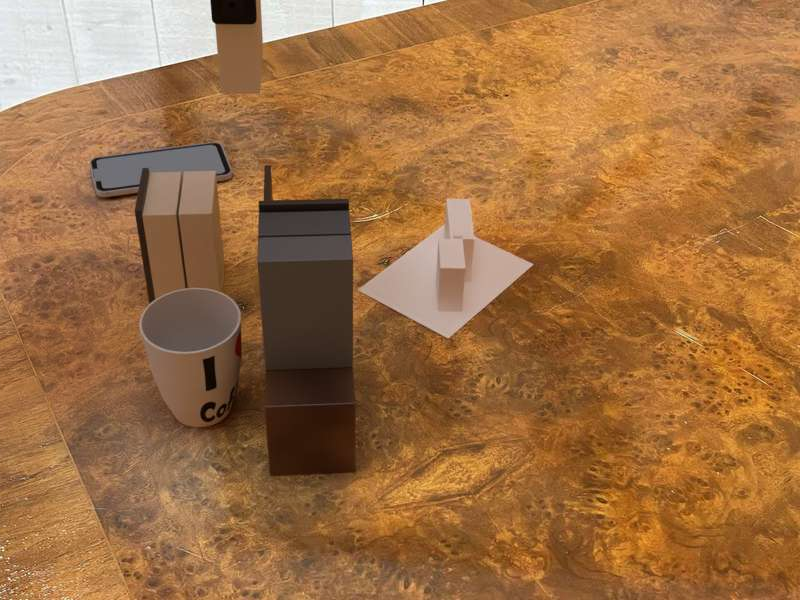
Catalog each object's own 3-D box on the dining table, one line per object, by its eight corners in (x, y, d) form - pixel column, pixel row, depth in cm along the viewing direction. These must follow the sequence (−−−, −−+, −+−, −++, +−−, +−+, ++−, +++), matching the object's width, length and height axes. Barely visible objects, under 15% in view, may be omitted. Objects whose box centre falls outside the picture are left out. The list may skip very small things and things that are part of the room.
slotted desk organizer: (150, 309, 102) (134, 210, 95) (156, 264, 108) (142, 167, 100) (276, 305, 103) (270, 207, 96) (276, 260, 109) (270, 164, 101)
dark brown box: (269, 475, 87) (264, 407, 82) (270, 373, 96) (266, 305, 91) (355, 472, 87) (355, 403, 82) (348, 370, 97) (348, 303, 91)
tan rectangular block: (260, 94, 82) (252, -46, 75) (220, 94, 82) (209, -47, 74) (263, 51, 87) (256, -83, 80) (226, 51, 87) (216, -84, 80)
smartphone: (234, 174, 119) (96, 193, 115) (234, 181, 120) (97, 201, 115) (220, 140, 124) (88, 157, 120) (220, 147, 125) (89, 164, 121)
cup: (211, 454, 88) (199, 366, 82) (134, 417, 91) (117, 330, 85) (267, 394, 94) (260, 308, 87) (193, 361, 97) (181, 276, 90)
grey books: (265, 370, 85) (256, 256, 77) (266, 312, 90) (258, 200, 83) (353, 367, 85) (353, 253, 78) (349, 309, 91) (348, 198, 83)
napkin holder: (444, 222, 114) (447, 177, 111) (534, 263, 109) (541, 218, 106) (356, 290, 105) (356, 244, 102) (450, 339, 100) (453, 292, 96)
